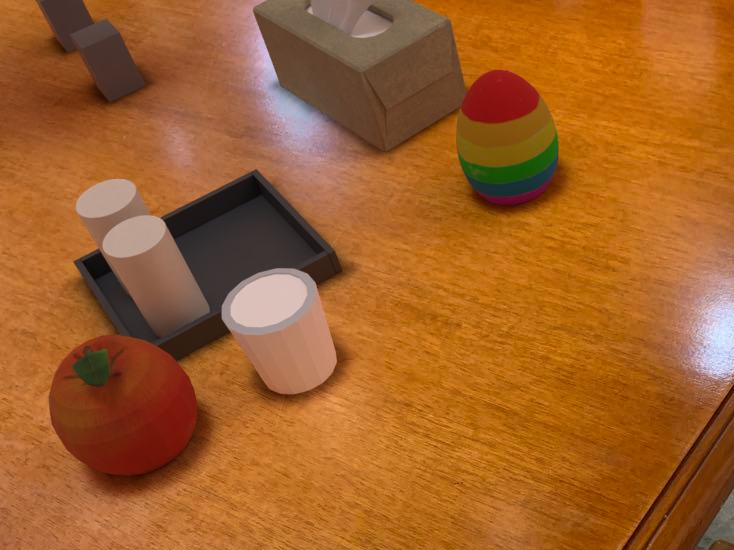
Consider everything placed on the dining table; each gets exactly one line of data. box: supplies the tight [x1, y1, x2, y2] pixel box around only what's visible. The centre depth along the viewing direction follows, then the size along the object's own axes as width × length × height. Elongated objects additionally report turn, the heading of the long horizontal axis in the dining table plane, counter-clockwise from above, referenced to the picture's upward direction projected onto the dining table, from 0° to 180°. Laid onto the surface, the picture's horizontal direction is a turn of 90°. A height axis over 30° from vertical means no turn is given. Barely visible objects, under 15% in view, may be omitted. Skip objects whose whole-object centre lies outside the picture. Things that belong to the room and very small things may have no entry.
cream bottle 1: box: [75, 178, 152, 297], centre depth 82 cm, size 5×5×8 cm
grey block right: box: [70, 18, 146, 103], centre depth 103 cm, size 4×4×6 cm
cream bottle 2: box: [102, 214, 210, 338], centre depth 78 cm, size 5×5×8 cm
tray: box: [72, 168, 343, 362], centre depth 84 cm, size 17×15×3 cm
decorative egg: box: [455, 69, 560, 206], centre depth 82 cm, size 8×8×10 cm
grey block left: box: [35, 0, 95, 53], centre depth 111 cm, size 4×4×6 cm
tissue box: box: [252, 0, 468, 153], centre depth 91 cm, size 19×10×16 cm, turn 41°
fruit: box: [48, 334, 198, 477], centre depth 70 cm, size 10×10×10 cm
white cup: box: [222, 268, 338, 395], centre depth 74 cm, size 7×7×7 cm
